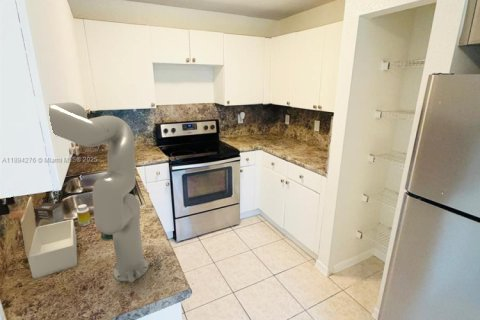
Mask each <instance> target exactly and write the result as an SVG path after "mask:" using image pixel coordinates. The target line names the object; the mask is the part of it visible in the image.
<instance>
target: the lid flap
mask: <svg viewBox="0 0 480 320" xmlns="http://www.w3.org/2000/svg"><path fill="white" fill-rule="evenodd" d="M7 215H8V219H11V220H12V219H16V218H21V219H20V227H21V232H22V233H21V234H22V239H23V244H24V246H23V247H24V251H25V257H27V258H28V256H29V252H30V248H31V244H32V240H33V237H34V233H35V229H36V227H37V222H36V216H35V212H34V204H33V198H32V196H30V197H29V198H28V200H27V204H26V206H25V208H24V209H21V210H13V211H10V213H9V214H7Z"/></svg>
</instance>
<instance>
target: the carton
mask: <svg viewBox="0 0 480 320" xmlns="http://www.w3.org/2000/svg"><path fill="white" fill-rule="evenodd" d="M77 238H78V237H77V232H76V228H75V223H74V219H67V220H65V221H63V222H58V223H53V224H49V225H44V226H40V227H38V226H36V229H35V233H34V237H33V240H32V244H31V248H30V252H29V256H27V260H28V263H29V268H30V272H31V276H32V279H33V280H35V279H38V278H42V277H46V276H49V275H52V274H55V273H58V272H62V271H65V270H69V269H73V268H75V267H78V249H77V248H78V247H77Z"/></svg>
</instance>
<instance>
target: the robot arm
mask: <svg viewBox="0 0 480 320" xmlns="http://www.w3.org/2000/svg"><path fill="white" fill-rule="evenodd" d="M48 105H49V116H50V122H51V126H52V130H53V133H54V134H55V135H57V136H56V137H59V138H63V139H64V140H68V141H70V142H72V143H74V144H77V145H80V146H83V147H86V148H94V147H99V146H102V145H104V144H107V143H109V147H108V151H107V157H106V158H107V172H106V173H105V174H103V175H102V176H100V177H98V178H97V179H96V181H95V182H94V184H93V187H92V193H91V194H92V205H93V206H92V207H93V220H94V223H95V225H96V226H95V227H97V229H98V230H99V232H100V233H101V232H102V233H104V234H107V235H112V234H113V239H112V241H113V247H114V255H115V261H116V266H115V268H114V269H113V277H114V280H117V281H119V282H124V283H125V282H126V283H127V282H128V283H133V282H134V281H135V280H137V279H139V278H141V277H143V275H145V274H146V273H147V272H148V271H149V262H148V260H146V259H145V258H144V254H143V253H144V252H143V242H142V234H141V233H142V232H141V222H140V221H141V219H140V218H141V205H140V202H139V200H138V198H137V197H136V196H135V195H134V194H132V193H130V192H131V191H132V190H133V189H134V188H135V186H136V180H137V179H136V160H135V159H136V158H135V156H136V155H135V135H134V133H133V130H132V128H131V126H130V125H129V124H128V123H127V122H126V121H125V120H124V119H122V118H120V117H118V116H114V115H101V116H97V117H92V118H88V113H87V111H86V109H85V108H84V107H83V105H80V104H79V103H75V102H59V103H50V104H48ZM14 197H15V196H13V197H11V198H4V199H0V216H4V215H5V216H6V215H9V213H10V212H11V210H10V207H9V206H10V205H11V206H12V205H15V203H16V201H15V198H14Z"/></svg>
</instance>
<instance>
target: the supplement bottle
mask: <svg viewBox="0 0 480 320" xmlns="http://www.w3.org/2000/svg"><path fill="white" fill-rule="evenodd" d="M76 216H77V222H78V225H79V226H80V227H85V226H88V225H90V224H91V223H92V220H91V213H90V209H89V207H88V206H87V204H84V203H83V204H80V205H78V206H77V210H76Z"/></svg>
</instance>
